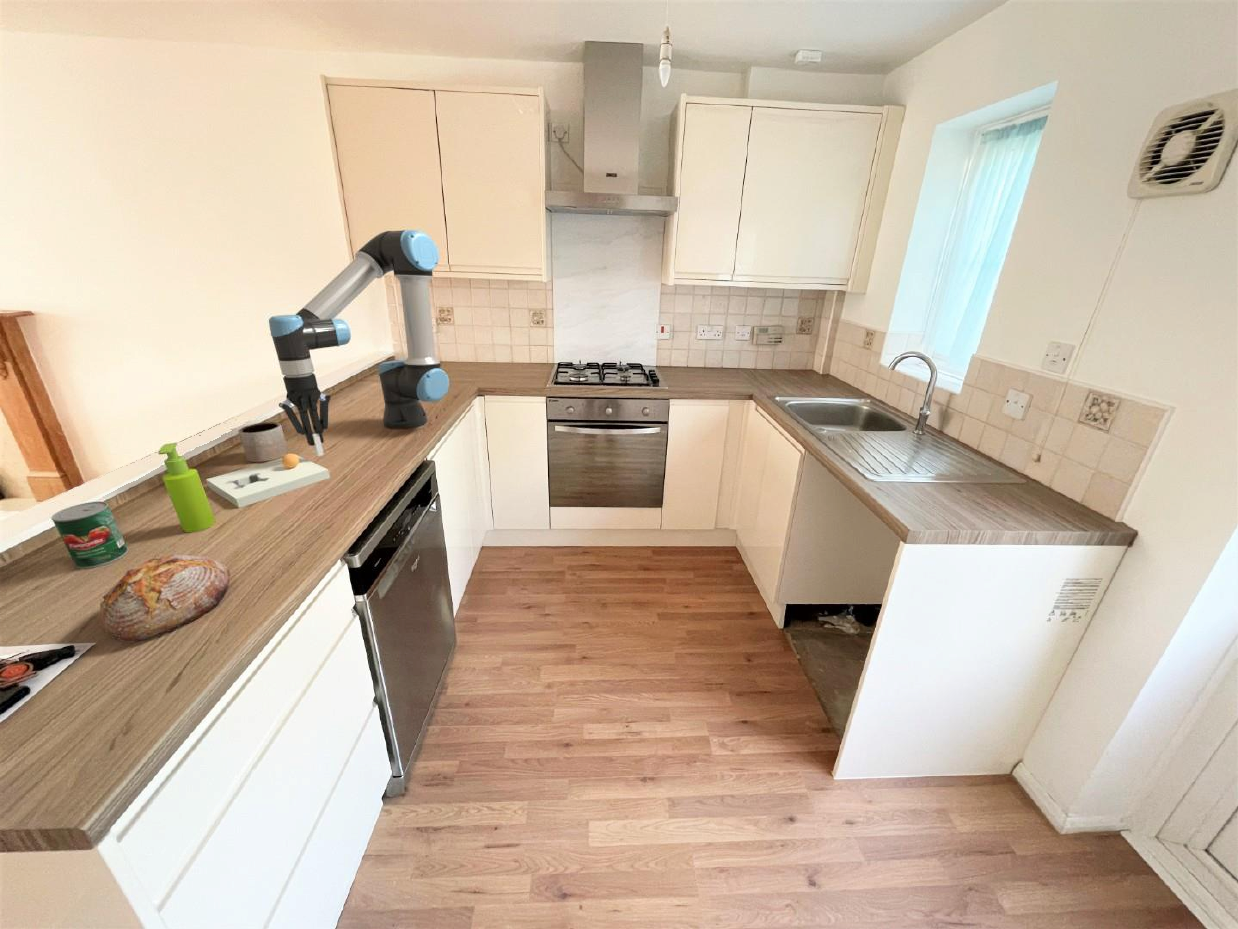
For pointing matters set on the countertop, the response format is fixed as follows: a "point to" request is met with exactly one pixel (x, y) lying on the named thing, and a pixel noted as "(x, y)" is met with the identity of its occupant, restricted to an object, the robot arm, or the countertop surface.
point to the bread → (162, 596)
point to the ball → (290, 460)
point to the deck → (266, 481)
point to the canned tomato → (90, 534)
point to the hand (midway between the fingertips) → (319, 454)
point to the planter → (263, 442)
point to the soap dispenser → (186, 492)
